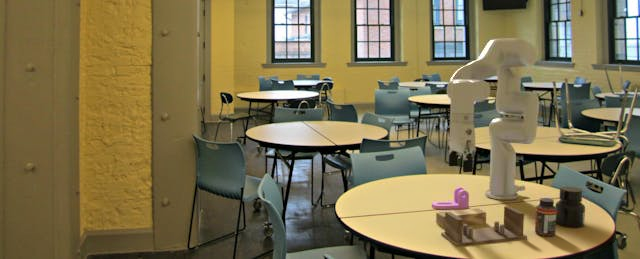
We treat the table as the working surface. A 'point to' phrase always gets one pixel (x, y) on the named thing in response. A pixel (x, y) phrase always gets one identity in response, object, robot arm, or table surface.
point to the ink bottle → (570, 207)
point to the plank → (464, 216)
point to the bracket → (459, 201)
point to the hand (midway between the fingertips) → (460, 168)
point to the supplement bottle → (545, 217)
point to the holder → (484, 229)
